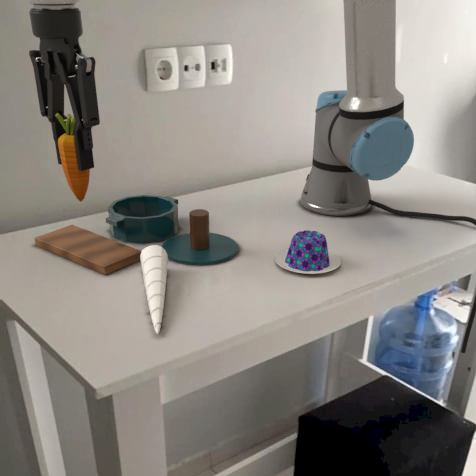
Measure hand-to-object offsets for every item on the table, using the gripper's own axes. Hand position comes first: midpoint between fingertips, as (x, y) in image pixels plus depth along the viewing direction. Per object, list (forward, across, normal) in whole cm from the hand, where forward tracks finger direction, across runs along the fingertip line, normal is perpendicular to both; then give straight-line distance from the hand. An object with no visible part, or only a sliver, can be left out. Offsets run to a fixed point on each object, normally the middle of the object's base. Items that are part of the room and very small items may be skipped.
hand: (76, 165), depth 109 cm
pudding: (+16, +34, +23) cm, 44 cm away
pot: (+16, 0, +15) cm, 21 cm away
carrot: (+6, 0, 0) cm, 6 cm away
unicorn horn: (+16, +23, -4) cm, 28 cm away
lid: (+16, +15, +15) cm, 26 cm away
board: (+16, 0, 0) cm, 16 cm away
